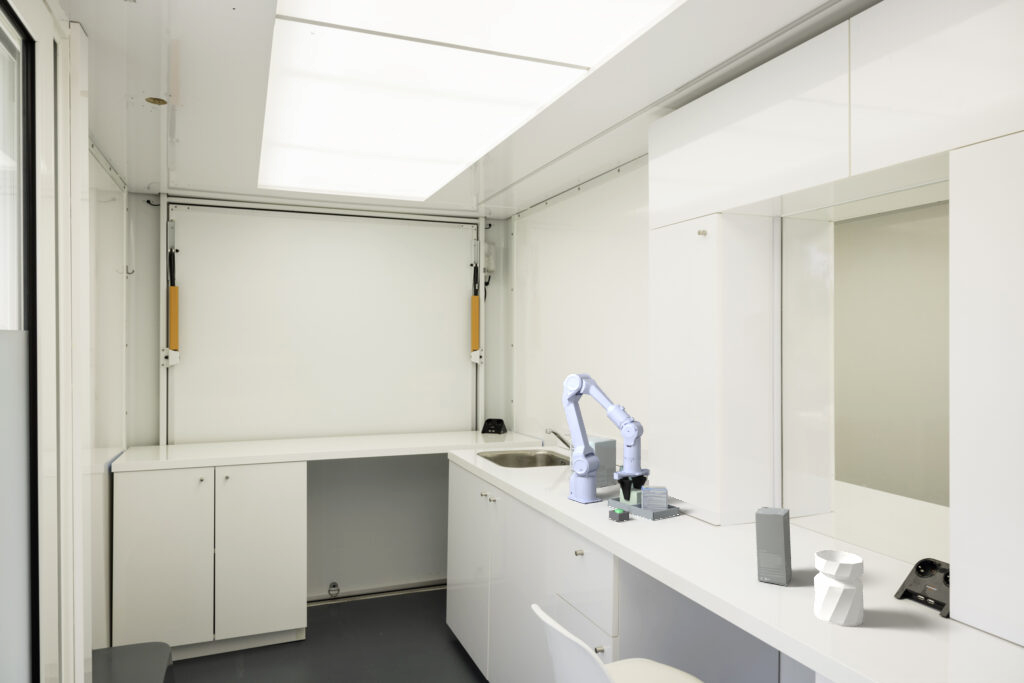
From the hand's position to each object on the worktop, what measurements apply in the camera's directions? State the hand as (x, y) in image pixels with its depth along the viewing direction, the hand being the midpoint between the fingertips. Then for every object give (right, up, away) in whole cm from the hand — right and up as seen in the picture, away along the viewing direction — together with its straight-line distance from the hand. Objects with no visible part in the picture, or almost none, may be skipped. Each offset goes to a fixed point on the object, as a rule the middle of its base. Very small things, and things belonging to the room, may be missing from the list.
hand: (631, 498), depth 212 cm
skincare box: (+21, -3, -65) cm, 68 cm away
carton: (0, -3, 0) cm, 3 cm away
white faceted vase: (+25, -2, -86) cm, 90 cm away
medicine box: (+6, -3, -9) cm, 11 cm away
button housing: (-7, -3, -15) cm, 17 cm away
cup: (+3, -3, +19) cm, 20 cm away
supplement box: (-8, -3, +37) cm, 38 cm away
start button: (-7, -2, -15) cm, 17 cm away
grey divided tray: (+3, -3, -4) cm, 6 cm away
